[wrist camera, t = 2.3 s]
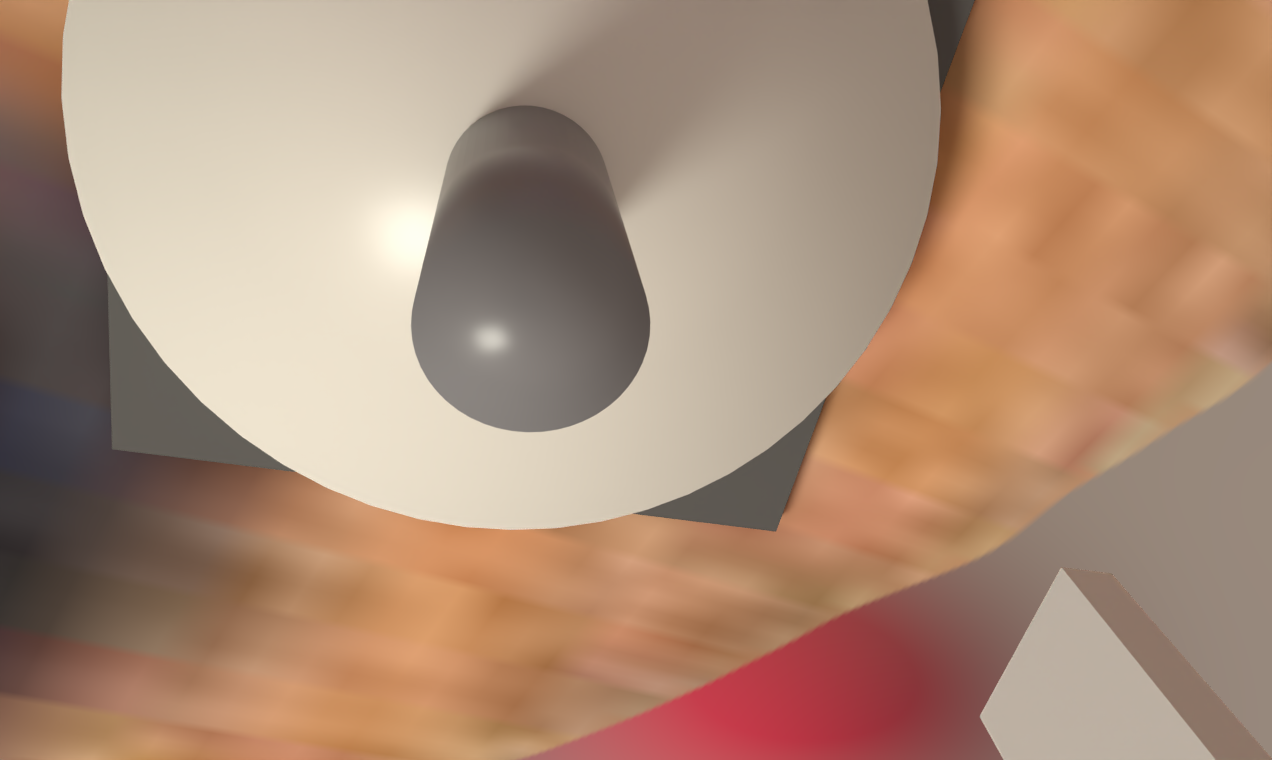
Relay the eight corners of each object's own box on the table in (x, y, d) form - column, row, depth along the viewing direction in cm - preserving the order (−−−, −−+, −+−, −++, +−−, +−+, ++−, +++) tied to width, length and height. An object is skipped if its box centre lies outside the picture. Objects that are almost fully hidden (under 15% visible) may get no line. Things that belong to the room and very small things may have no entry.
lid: (60, -490, 18) (-365, -833, 10) (1058, -174, 23) (1395, -207, 14) (95, 459, 29) (-95, 721, 20) (784, 543, 33) (881, 784, 24)
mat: (100, -441, 19) (88, -450, 19) (1022, -157, 24) (1033, -158, 23) (119, 438, 29) (112, 449, 28) (772, 521, 34) (776, 531, 33)
